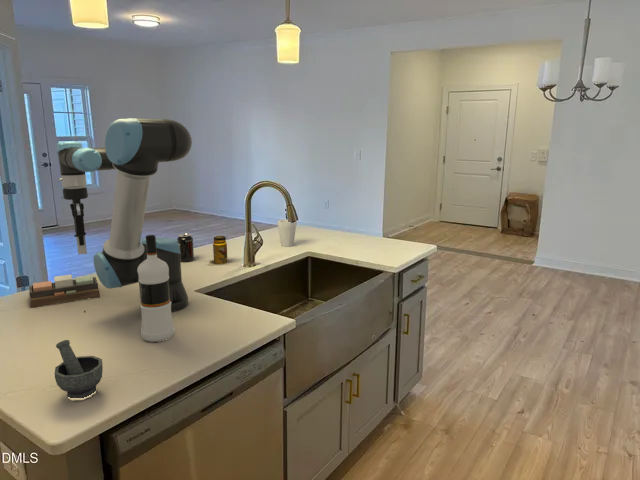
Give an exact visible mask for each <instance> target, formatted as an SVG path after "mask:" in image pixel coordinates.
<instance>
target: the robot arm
mask: <svg viewBox="0 0 640 480" xmlns="http://www.w3.org/2000/svg"><path fill="white" fill-rule="evenodd" d="M104 139H105V140H104V147H83V144H82V142H81V141H59V142H58V143H56V144H57V156H58V163H59V164H58V165H59V170H60V178H59V179H58V180H59V182H61V185H62V194H63V195H62V196H63V199H64V200H66V201H72V202H71V203H70V204H69V206H70V209H71V214H72V217H73V222H74V223H73V224H74V232H75V234H74V238H76V239H75V240H76V246H77V252H78V256H79V255H87V254H88V251H87V243H86V235H87V232H86V231H85V221H84V216H85V212H84V210H85V206H84V203H83V202H81V200H84V199H87V198H88V197H89V195H88V188H87V185H88V183H87V174H86V173H90V172H95V171H96V172H97V171H110V170H116V171H117V173H116V179H115V180H116V183H115V192H114V200H113V208H112V214H111V215H112V217H111V226H110V232H109V238H108V239H107V240H105V242H104V243H103V245H102V251H98V252H96V253H95V254H93V255H94V256H93V268H94V271H95V274H96V276H97V278H98V279H99V282H100V284H102V286H103V287H105V288H107V289H110V290H111V289H117V288H123V287H126V286H129V285H133V284H137V283H138V284H139V281H138V280H139V279H138V272H137V268H138V266H139V265H140V264H141V263H142V262H143V261H145V260H146V259H147V247H146V237H144V238H143V239H142V233H143V227H144V221H145V214H146V208H147V201H148V195H149V189H150V182H151V177H152V176H154V175H156V174H157V172H158V169H159V168H158V167H159V163H165V162H166V163H167V162H174V161H180V160H182V159H184V158H185V157H186V156H187V155H188V154H189V153H190V151H191V149H192V146H193V145H192V143H193V141H192V139H193V138H192V136H191V133H190V132H189V130H188V129H187V127H186V126H184V125H183V124H182V123H180V122H178V121H177V120H173V119H169V118H162V119H159V118H157V119H156V118H135V117H128V118H119V119H116V120H114V121H113V122H111V123H110V125H109V126H108V128H107V130H106V134H105V138H104ZM156 250H157V258H159V259H161V260H162V261H164V262H166V263H167V265H168V267H169V291H170V301H171V313H173V312H176V311H179V310H182V309H185V308H186V307H187V306H188V305H189V303H190V301H189V296H188V293H187V290H186V288H185V286H184V284H183V280H182V279H183V278H182V264H181V262H182V261H180V254H181V252H180V248H179V243H178V242H177V239H176V240H175V239H174V238H173V239H172V238H168V237H156Z"/></svg>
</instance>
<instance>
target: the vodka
mask: <svg viewBox="0 0 640 480" xmlns="http://www.w3.org/2000/svg"><path fill="white" fill-rule="evenodd" d="M145 238H146V247H147V259H146V260H145V261H143V262H142V263H141V264H140V265H139V266H138V268H137V272H138V279H139V280H138V281H139V282H138V288H139V289H138V290H139V300H140V305H139V308H140V311H141V329H140V336H141V338H142V339H143V340H144V341H146V342H149V341H150V343H157V342H158V341H160V342H164V341H166V339H167V340H170V339H171V338H172V337H173V336H174V335H175V332H176V331H175V330H176V329H175V328H176V327H175V325H174V321H173V316H172V312H171V301H170V291H169V267H168V265H167V263H166V262H164V261H162V260H161V259H159V258H157V250H156V235H155V234H146V235H145ZM163 340H164V341H163ZM158 343H159V342H158Z"/></svg>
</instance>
